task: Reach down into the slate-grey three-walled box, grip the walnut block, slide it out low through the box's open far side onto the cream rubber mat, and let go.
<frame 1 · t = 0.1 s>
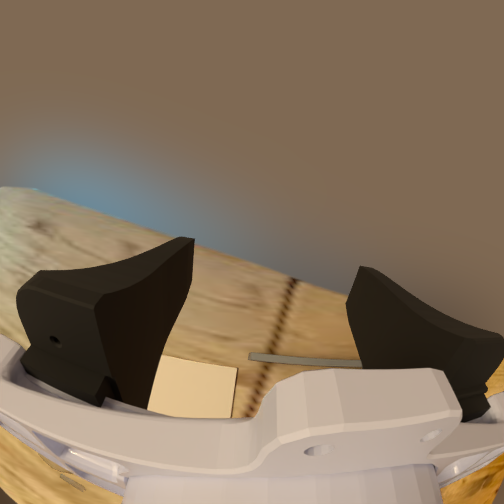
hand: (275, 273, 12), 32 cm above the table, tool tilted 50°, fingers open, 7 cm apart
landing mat: (178, 402, 36), on the table
open box: (305, 416, 37), on the table
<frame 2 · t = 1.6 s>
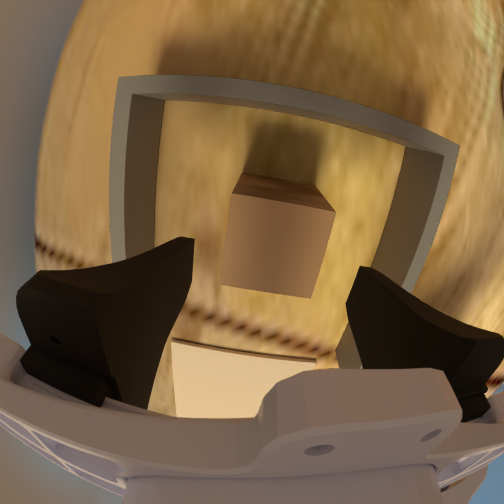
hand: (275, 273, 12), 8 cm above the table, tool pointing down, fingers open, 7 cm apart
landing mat: (235, 397, 28), on the table
walnut block: (272, 213, 19), resting in open box
open box: (267, 240, 20), on the table
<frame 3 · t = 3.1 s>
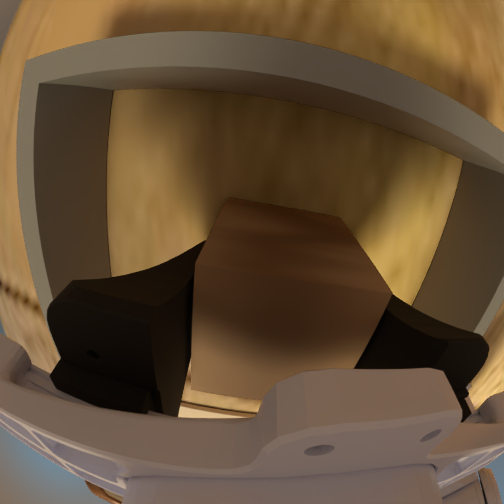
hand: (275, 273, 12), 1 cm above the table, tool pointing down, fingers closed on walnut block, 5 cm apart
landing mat: (228, 448, 22), on the table
walnut block: (274, 258, 13), resting in open box, touching gripper
open box: (267, 294, 14), on the table
tin: (129, 462, 29), on the table
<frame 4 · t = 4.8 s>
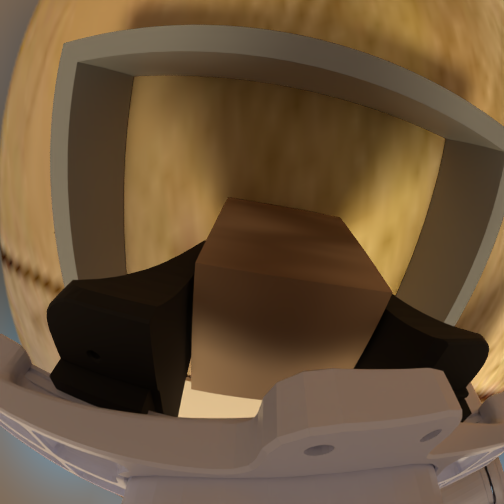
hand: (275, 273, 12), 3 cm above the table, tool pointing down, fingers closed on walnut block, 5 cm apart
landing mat: (231, 428, 24), on the table
walnut block: (274, 258, 13), point 2 cm above the table, touching gripper
open box: (269, 258, 15), on the table
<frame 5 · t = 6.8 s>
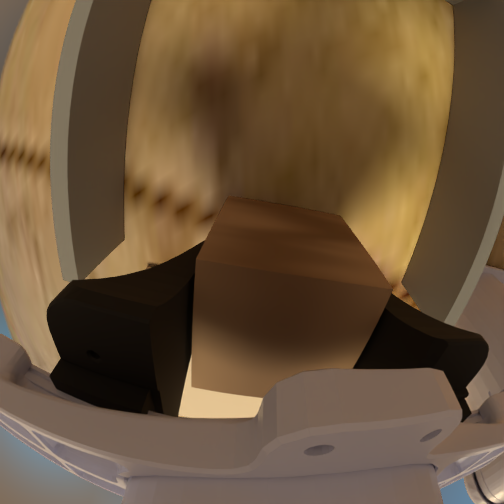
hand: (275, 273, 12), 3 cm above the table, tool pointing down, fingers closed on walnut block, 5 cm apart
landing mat: (245, 373, 19), on the table
walnut block: (275, 256, 13), point 2 cm above the table, touching gripper
open box: (303, 75, 11), on the table
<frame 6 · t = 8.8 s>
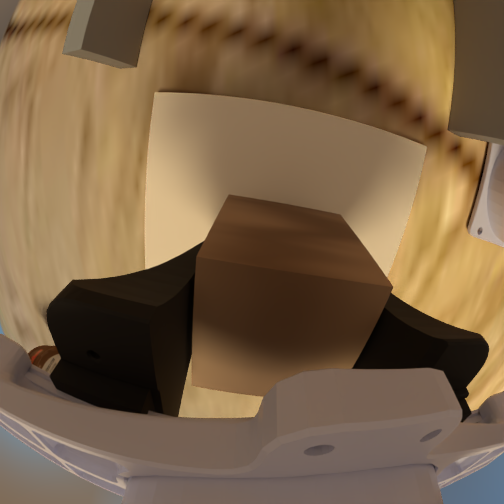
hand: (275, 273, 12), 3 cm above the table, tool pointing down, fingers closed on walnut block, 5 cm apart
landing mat: (270, 258, 15), on the table
walnut block: (275, 255, 13), point 2 cm above the table, touching gripper
tin: (99, 381, 22), on the table
when the fingers open (2 cm above the table, at t = 10.3 s): walnut block stays where it is, resting on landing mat.
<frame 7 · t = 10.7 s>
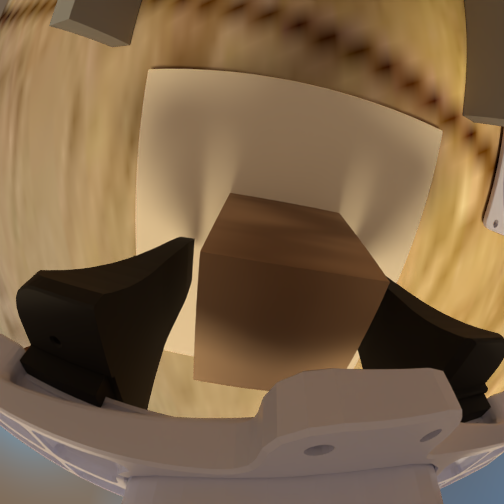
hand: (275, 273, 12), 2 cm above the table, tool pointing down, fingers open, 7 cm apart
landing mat: (274, 251, 14), on the table
walnut block: (275, 252, 13), resting on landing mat
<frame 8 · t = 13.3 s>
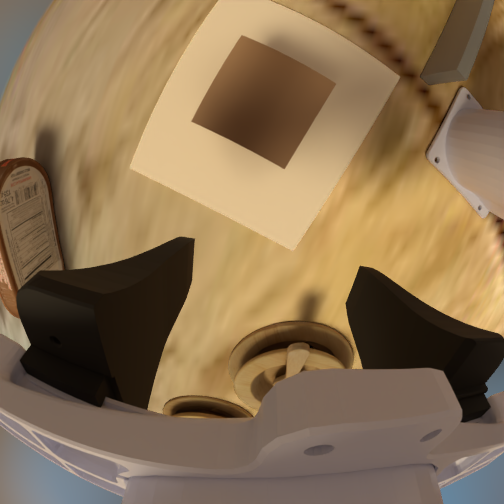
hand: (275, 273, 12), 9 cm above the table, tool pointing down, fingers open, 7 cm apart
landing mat: (263, 109, 17), on the table
walnut block: (264, 108, 17), resting on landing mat
tin: (52, 224, 22), on the table
tableware set: (245, 394, 31), on the table
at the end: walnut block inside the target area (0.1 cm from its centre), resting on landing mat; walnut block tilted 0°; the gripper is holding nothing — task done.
